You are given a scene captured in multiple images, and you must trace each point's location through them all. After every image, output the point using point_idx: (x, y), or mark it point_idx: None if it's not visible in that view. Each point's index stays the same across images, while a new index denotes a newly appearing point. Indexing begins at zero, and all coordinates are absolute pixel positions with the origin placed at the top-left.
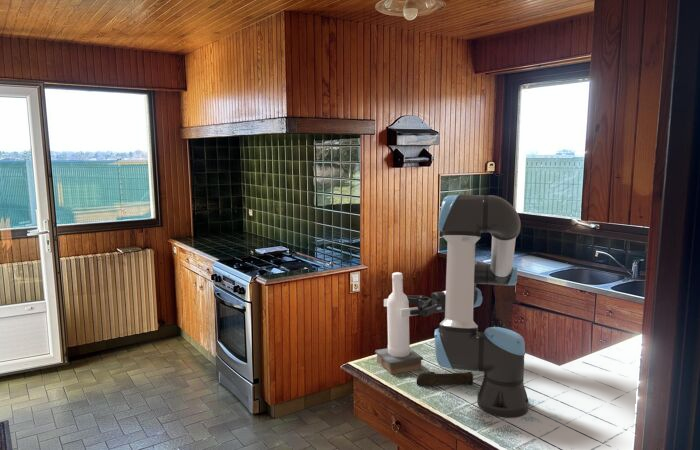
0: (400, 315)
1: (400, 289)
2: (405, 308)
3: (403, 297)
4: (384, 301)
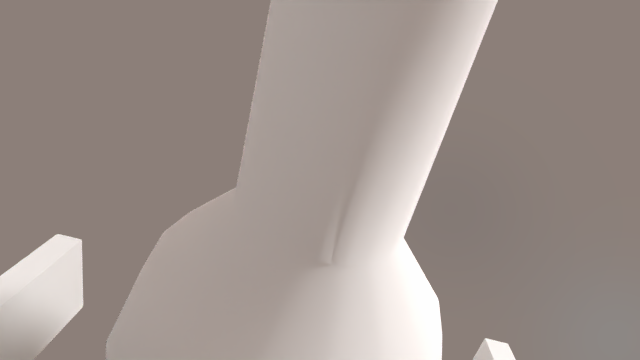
0: (81, 296)
1: (248, 133)
2: (31, 279)
3: (160, 249)
4: (480, 356)
